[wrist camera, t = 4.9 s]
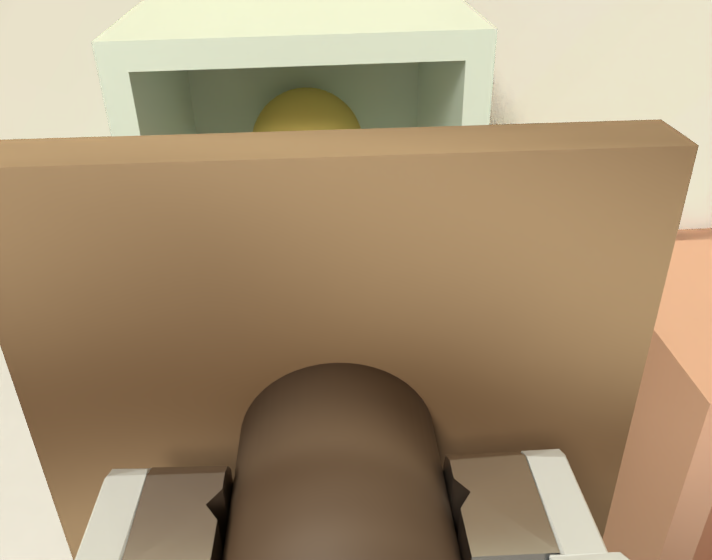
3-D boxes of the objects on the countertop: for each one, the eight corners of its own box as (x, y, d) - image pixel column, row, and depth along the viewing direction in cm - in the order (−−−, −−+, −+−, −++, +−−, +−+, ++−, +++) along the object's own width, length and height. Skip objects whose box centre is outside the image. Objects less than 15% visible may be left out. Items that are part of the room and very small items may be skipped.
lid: (567, 561, 13) (672, 847, 9) (113, 584, 13) (24, 890, 9) (661, 120, 9) (934, 306, 5) (-21, 140, 8) (-309, 357, 5)
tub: (428, 228, 24) (469, 349, 18) (196, 239, 23) (160, 366, 17) (439, -21, 20) (497, 28, 14) (157, -13, 19) (91, 42, 13)
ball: (360, 173, 22) (367, 217, 19) (259, 177, 22) (253, 222, 19) (358, 72, 20) (366, 104, 18) (250, 76, 20) (241, 109, 17)
